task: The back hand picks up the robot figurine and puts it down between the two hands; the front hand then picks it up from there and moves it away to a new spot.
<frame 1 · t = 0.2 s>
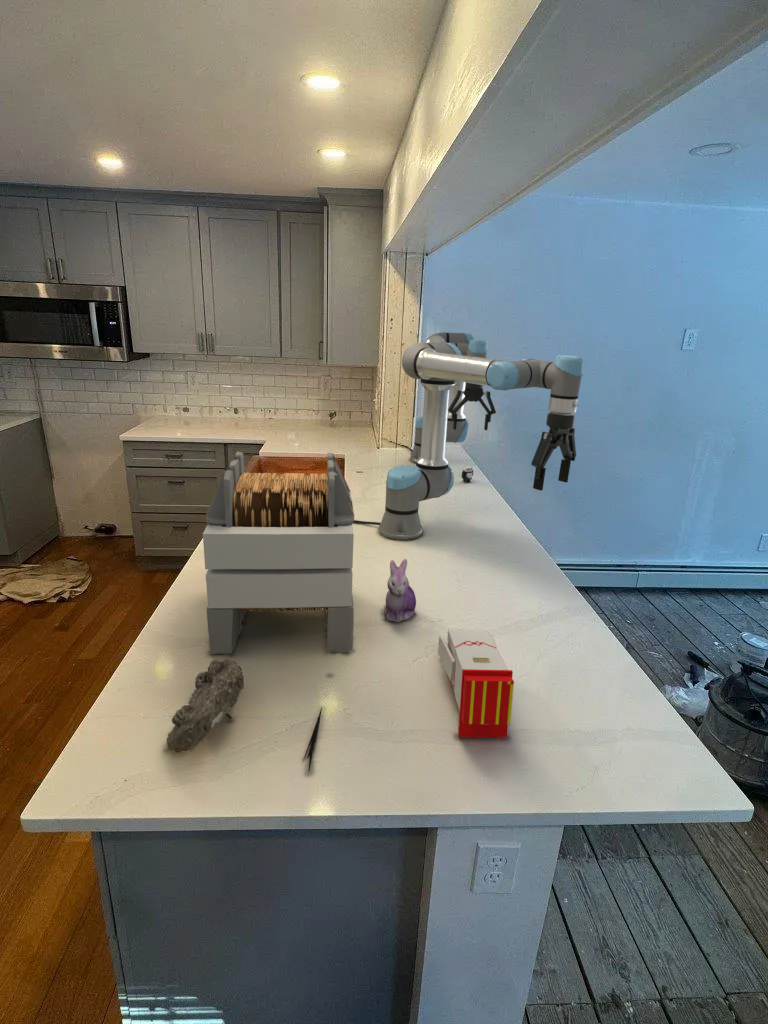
front hand: (550, 485, 166), 28 cm above the counter, tool pointing down, fingers open, 13 cm apart
back hand: (470, 429, 243), 27 cm above the counter, tool pointing down, fingers open, 13 cm apart
feather: (319, 719, 109), on the counter
fossil: (212, 717, 108), on the counter
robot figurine: (466, 481, 264), on the counter
grey box with legs: (285, 616, 144), on the counter
toy: (469, 691, 119), on the counter
figurine: (399, 614, 147), on the counter
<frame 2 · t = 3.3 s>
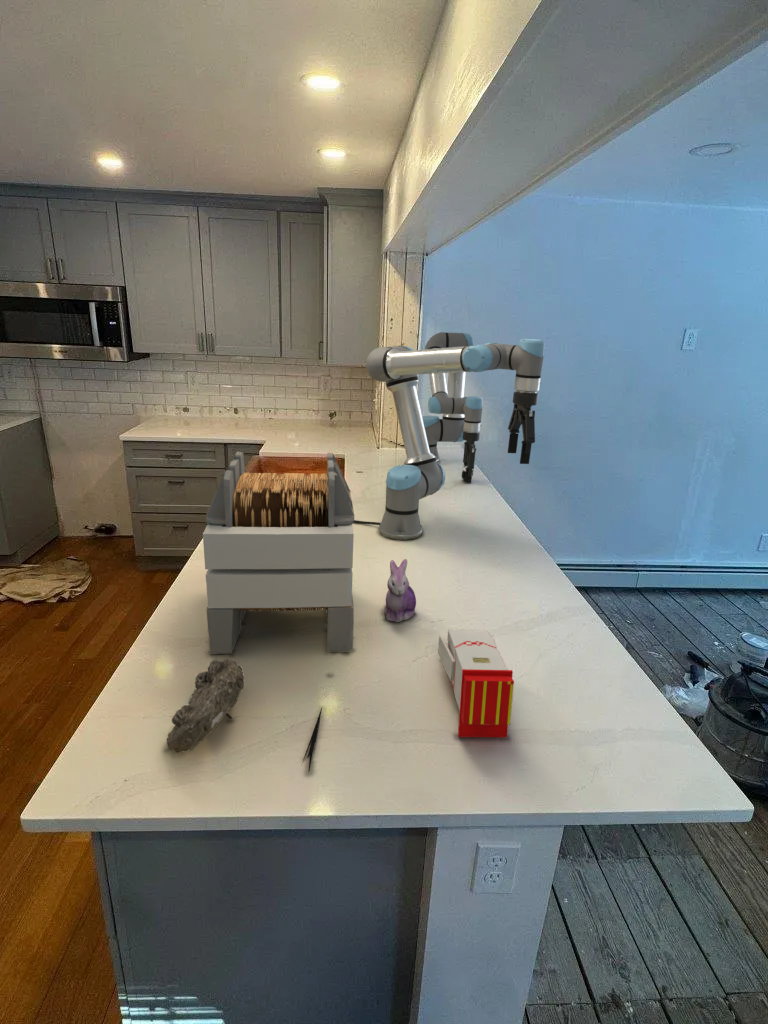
front hand: (517, 458, 182), 31 cm above the counter, tool pointing down, fingers open, 13 cm apart
back hand: (466, 480, 264), 1 cm above the counter, tool pointing down, fingers closed on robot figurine, 5 cm apart
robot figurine: (466, 481, 264), on the counter, touching back hand
everything else where it was.
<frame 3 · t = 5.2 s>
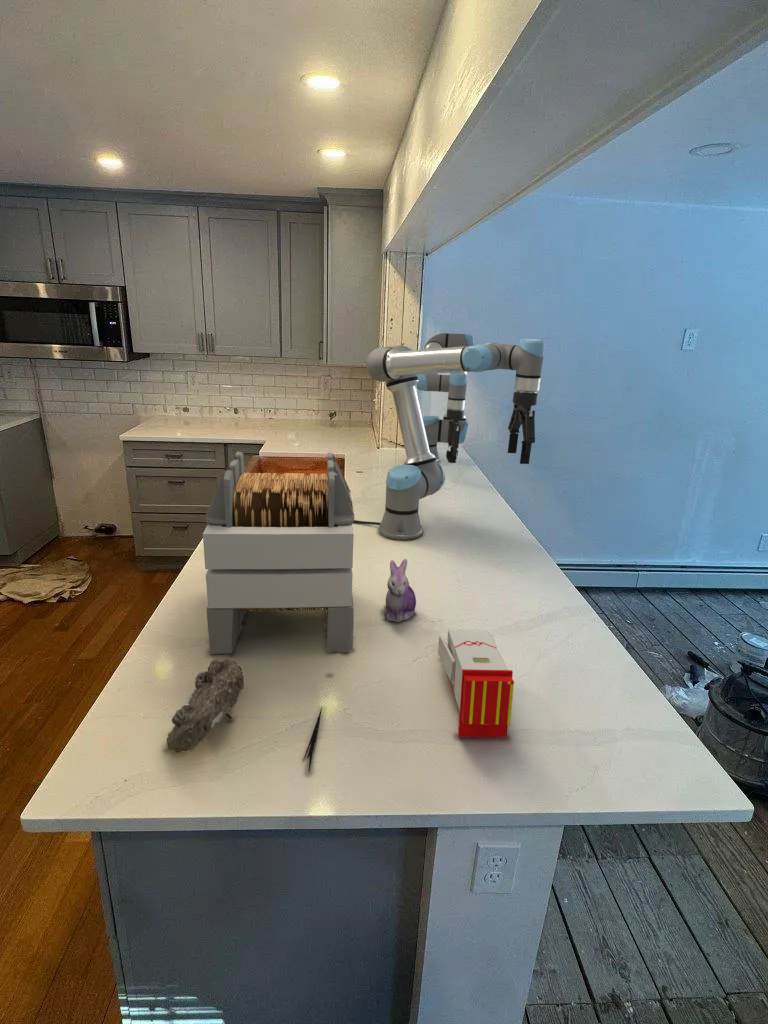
front hand: (517, 458, 182), 31 cm above the counter, tool pointing down, fingers open, 13 cm apart
back hand: (451, 461, 255), 11 cm above the counter, tool pointing down, fingers closed on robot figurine, 5 cm apart
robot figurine: (451, 462, 256), point 11 cm above the counter, touching back hand
everything else where it was.
when the back hand's fingers open (2 cm above the counter, at t = 7.1 s): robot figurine drops 2 cm, on the counter.
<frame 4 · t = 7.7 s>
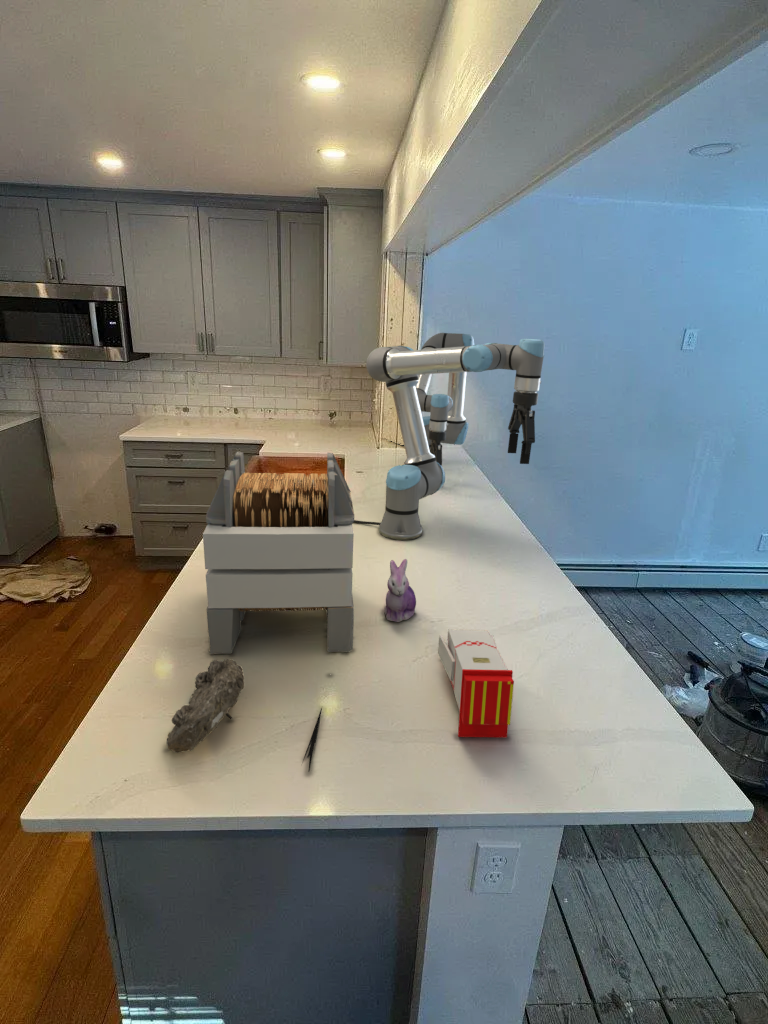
front hand: (517, 458, 182), 31 cm above the counter, tool pointing down, fingers open, 13 cm apart
back hand: (434, 477, 253), 4 cm above the counter, tool pointing down, fingers open, 13 cm apart
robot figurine: (433, 486, 255), on the counter
everything else where it was.
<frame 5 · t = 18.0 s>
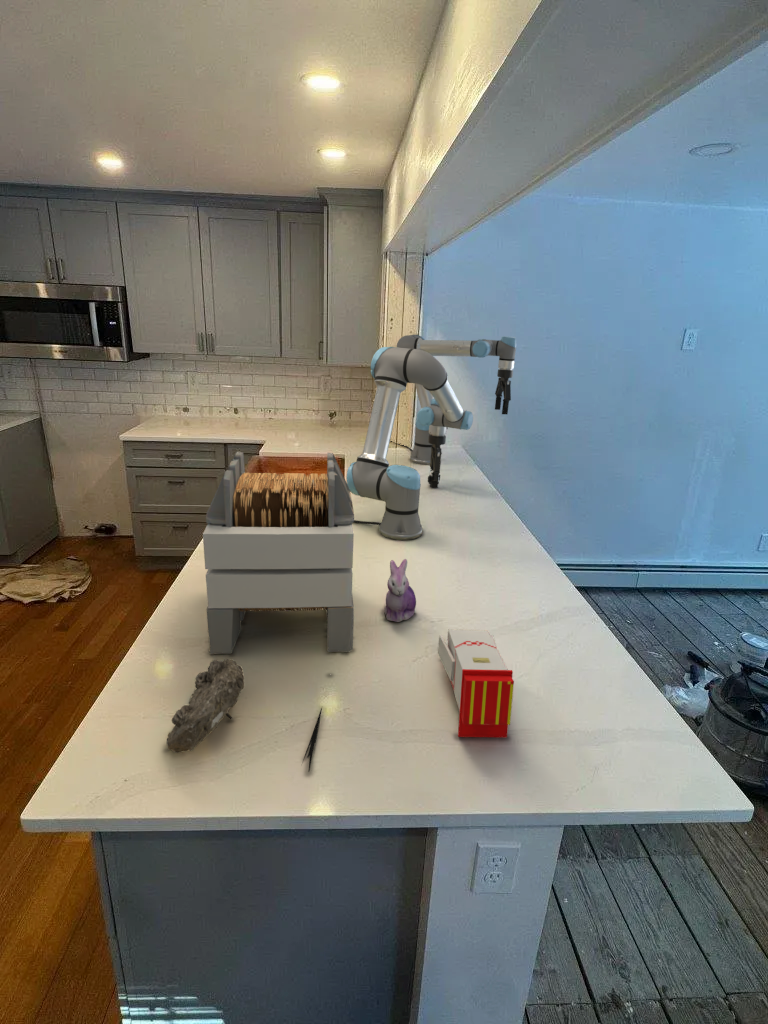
front hand: (433, 485, 255), 1 cm above the counter, tool pointing down, fingers closed on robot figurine, 5 cm apart
back hand: (500, 411, 289), 27 cm above the counter, tool pointing down, fingers open, 13 cm apart
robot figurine: (433, 486, 255), on the counter, touching front hand
everything else where it was.
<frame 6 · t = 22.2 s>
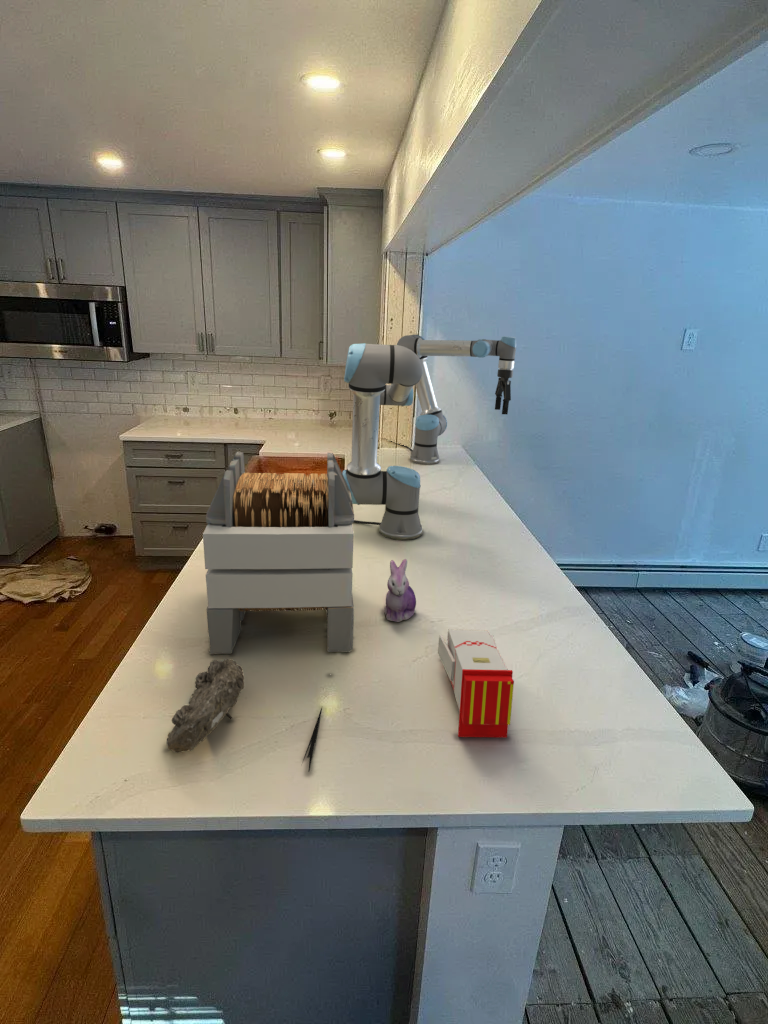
front hand: (361, 471, 234), 11 cm above the counter, tool pointing down, fingers closed on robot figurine, 5 cm apart
back hand: (500, 411, 289), 27 cm above the counter, tool pointing down, fingers open, 13 cm apart
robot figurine: (361, 472, 234), point 10 cm above the counter, touching front hand
everything else where it was.
when the front hand's fingers open (2 cm above the counter, at t = 26.4 s): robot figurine drops 2 cm, on the counter.
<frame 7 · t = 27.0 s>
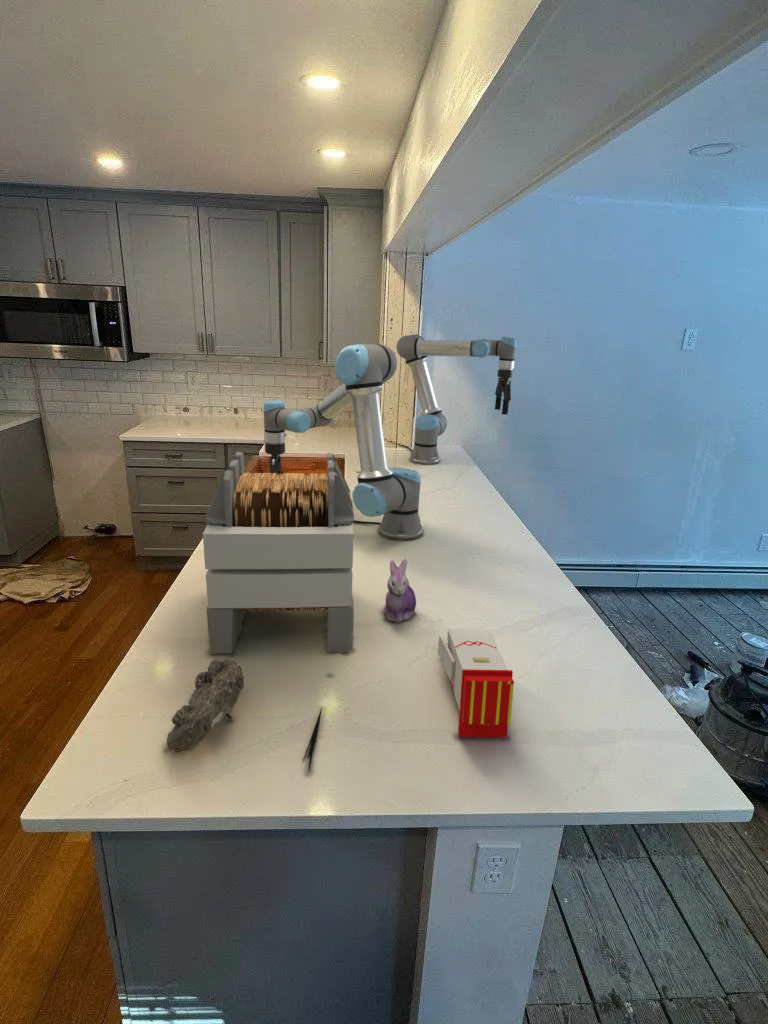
front hand: (276, 496, 219), 4 cm above the counter, tool pointing down, fingers open, 13 cm apart
back hand: (500, 411, 289), 27 cm above the counter, tool pointing down, fingers open, 13 cm apart
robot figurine: (276, 506, 221), on the counter
everything else where it was.
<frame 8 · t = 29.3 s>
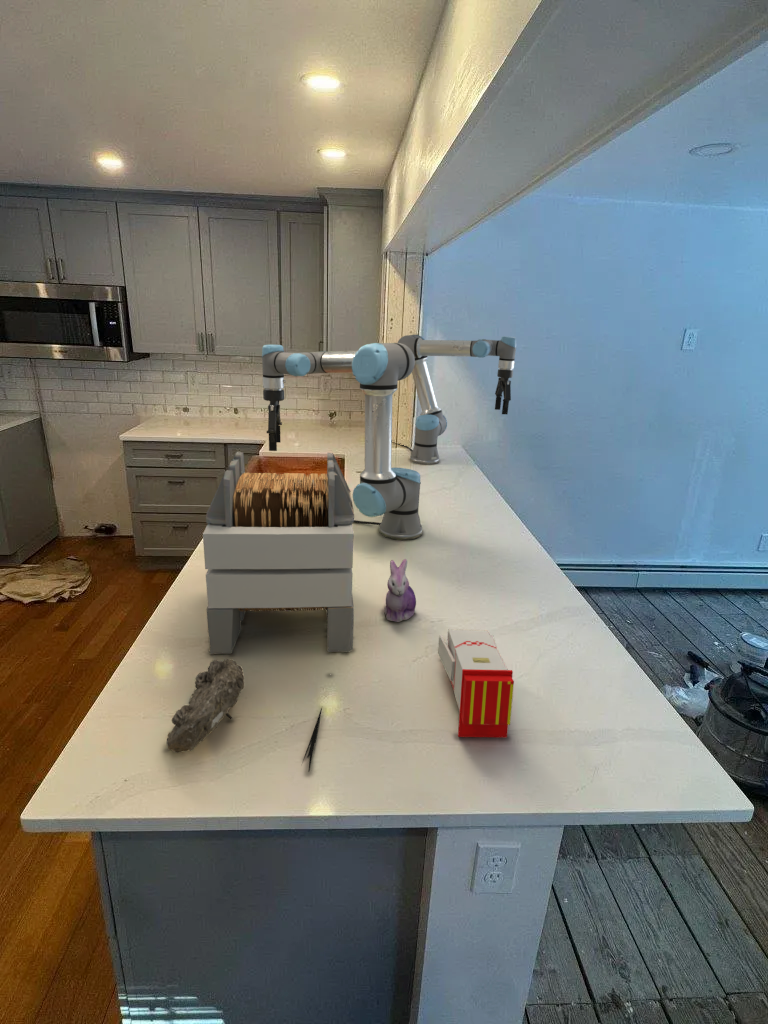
front hand: (275, 446, 213), 24 cm above the counter, tool pointing down, fingers open, 13 cm apart
back hand: (500, 411, 289), 27 cm above the counter, tool pointing down, fingers open, 13 cm apart
nothing on the counter moved.
at the end: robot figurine inside the target area (0.1 cm from its centre), on the counter; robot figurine tilted 0°; the two hands never held the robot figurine at the same time; the front hand is holding nothing; the back hand is holding nothing; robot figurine at rest at the end (0.0 cm/s) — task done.
